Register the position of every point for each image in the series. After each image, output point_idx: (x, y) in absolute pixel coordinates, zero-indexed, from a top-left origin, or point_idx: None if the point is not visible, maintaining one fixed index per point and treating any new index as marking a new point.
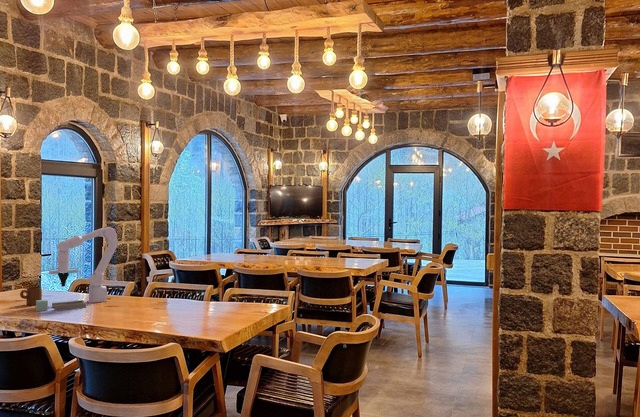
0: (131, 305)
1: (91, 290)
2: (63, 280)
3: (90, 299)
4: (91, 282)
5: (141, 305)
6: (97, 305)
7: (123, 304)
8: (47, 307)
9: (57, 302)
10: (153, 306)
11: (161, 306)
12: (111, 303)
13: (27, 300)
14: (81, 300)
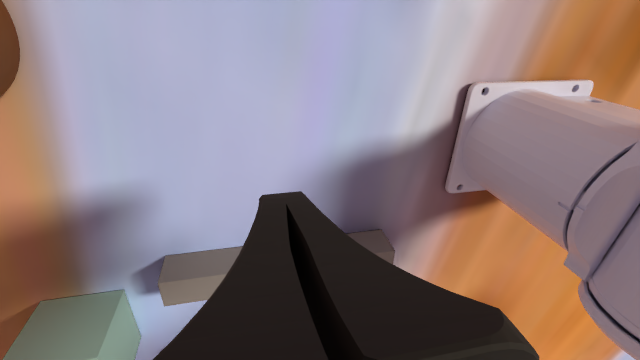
0: (553, 317)
1: (535, 224)
2: (306, 278)
3: (473, 173)
4: (597, 325)
5: (577, 326)
6: (443, 276)
7: (547, 288)
8: (134, 355)
9: (204, 280)
10: (587, 351)
11: (603, 355)
12: (527, 245)
13: None
14: (387, 256)
